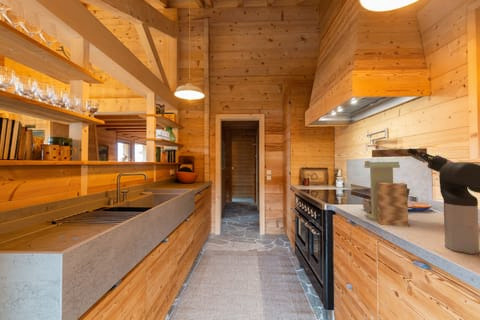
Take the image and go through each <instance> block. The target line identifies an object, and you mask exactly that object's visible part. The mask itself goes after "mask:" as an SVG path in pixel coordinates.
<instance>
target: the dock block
mask: <svg viewBox="0 0 480 320" xmlns="http://www.w3.org/2000/svg"><path fill="white" fill-rule="evenodd" d="M407 188H408V184H406V183H404V182H393V183H377V211H378V219H377V221H376V222H377V223H378V224H379V225H381V226H395V227H397V226H398V227H406V226H408V228H410V223H409V211H408V210H409V209H408V207H409V206H408V201H407Z"/></svg>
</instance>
